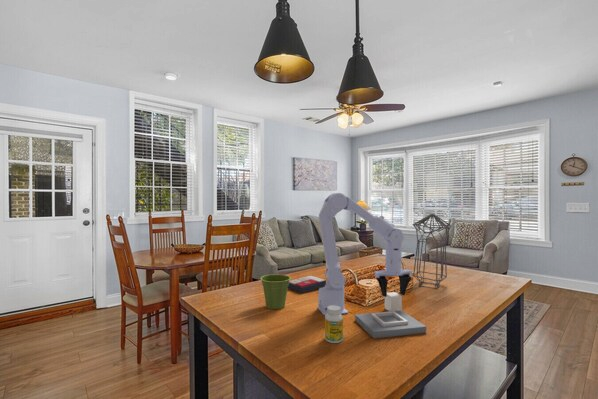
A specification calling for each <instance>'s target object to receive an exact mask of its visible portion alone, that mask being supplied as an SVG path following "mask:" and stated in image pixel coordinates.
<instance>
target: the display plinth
mask: <svg viewBox="0 0 598 399" xmlns="http://www.w3.org/2000/svg"><path fill="white" fill-rule="evenodd" d="M354 321H355V322H356V323H357V324H358V325H360V327H361V328H362V329H364V331H366V332H367V333H368V334H369V335H370V336H371V337H372V338H373V339H380V338H381V339H383V338H390V337H391V338H392V337H400V336H409V335H420V334H427V325H425V324H423V323H422V322H421V321H418V320H417V319H415V318H414V317H413V316H411V315H409V314H408V313H407V312H405V311H403V309H402V310H401V311H382V312H367V313H358V314H354Z"/></svg>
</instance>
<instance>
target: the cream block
mask: <svg viewBox="0 0 598 399" xmlns="http://www.w3.org/2000/svg"><path fill="white" fill-rule="evenodd" d="M402 298H403V295H402V294H400V293H397V292H396V291H393V292H387V296H386V297H384V309H385V310H386V311H387V312H389V311H401V310H402V311H403V304H402V302H403V299H402Z"/></svg>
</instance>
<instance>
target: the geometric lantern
mask: <svg viewBox="0 0 598 399" xmlns="http://www.w3.org/2000/svg"><path fill="white" fill-rule="evenodd" d="M429 220H430V222H429ZM434 221H435V222H436V223H437V224H435V222H434ZM428 222H429V223H428ZM412 226H413V227H414V228H415V231H416V242H417V243H416V247H415V248H416V249H415V257H414V266H413V271H412V276H413V278H414V279H416V280H417V281H418V287H422V288H427V289H428V288H429V289H435V290H436V289H438V288H439V286H440V283H442V282H443V281H444V280H446V278H447V277H448V276H447V274H448V272H447V244H446V243H447V242H446V241H447V238H448V235H449V232H450V230H451V228H452V224H450V223H449V222H447V221H445V220H444V219H442V218H441V217H440V216H438V215H436V214H435V213H430V214H428V215H426V216H425V217H423V218H422V219H419V220H418V221H416V222H414V223H413V224H412ZM422 228H423V229H422ZM425 228H427V229H429V231H425ZM443 230H445V232H444V234H443V236H442V235H441V231H443ZM421 231H422V232H423V234H422V232H421ZM418 232H419V233H420V236H421V237H420V238H419V236H418V235H419V234H418ZM435 232H437V233H438V234H439V236H440V237H441V240H440V239H436V238H435V236H434V234H433V233H435ZM425 234H428V235H427V236H426V238H424V237H423V236H424V235H425ZM430 235H431V236H432V238H433V239H430V238H429V237H430ZM444 237H445V238H444ZM431 241H432V242H431ZM433 241H435V242H433ZM420 243H421V248H420ZM424 243H425V245H424ZM427 244H435V245H436V248H435V249H436V250H435V251H436V255H435V256H436V258H435V259H436V260H435V262H436V264H435V265H436V266H435V267H436V269H435V271H436V272H429V271H425V270H426V269H425V267H426V256H427ZM423 245H424V246H423ZM439 245H440V273H438V267H439V266H438V263H439V262H438V261H439V258H438V257H439V256H438V255H439V250H438V249H439ZM423 247H424V257H423V256H422V254H423ZM419 254H420V255H419ZM422 257H423V258H424V259H423V267H422V268H423V270H422V271H421V263H422ZM444 263H445V264H444ZM444 266H445V267H444ZM444 268H445V269H444ZM444 270H445V275H444ZM415 272H416V273H415ZM421 273H422V275H423V276H422V275H421ZM418 274H419V276H418ZM425 274H429V275H435V279H433V278H429V277H425ZM438 276H440V277H439V278H438ZM425 280H429V281H434V282H427V281H425ZM422 283H423V284H430V285H434V287H432V286H425V285H422Z"/></svg>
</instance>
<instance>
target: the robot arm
mask: <svg viewBox="0 0 598 399" xmlns="http://www.w3.org/2000/svg"><path fill="white" fill-rule="evenodd" d="M342 210H346V211H351V212H352V213H354V214H355V215H357V216H358V217H359V218H362V219H363V220H365V221H366V222H367V223H368V227H369V228H370V229H371V230H372V231H374V232H375V233H376V234H378V235H379V236H381V237H382V238H383V239H384V240H385V269H382V270H376V271H374V277H375V279H376V280H377V282H378V283H377V284H378V285H379V288H380V291H381V296H382V297H384V298H385V297H386V296H387V293H388V290H387V289H388V288H387V287H388V282H389V280H388V279H387V277H389V278H390V277H398V281H399V294H400V295H401V296H405V295H406V291H407V288H408V286H409V283H410V281H412V277H411V276H413V271H412V270H411V269H410V268H409V269H404V268H402V243H403V242H404V240H405V235H404V233H403V231H402V229H400V228H397V227H395V224H394V223H390V222H388V220H386V219H385V216H383V215H378V214H376V215H373V214H372V213H370V212H369V211H368V210H367V209H366V208H364V207H363V206H361V204H359V203H358V202H357V201H355V200H353V199H352V198H351V197H349V196H346V195H345V194H344V193H341V192H335V193H334V192H333V193H331V194H330V195H328V196H327V198H326V199H324V201H323V204H322V207H321V210H320V212H319V213H318V222H319V227H320V233H321V239H322V245H323V252H324V258H325V272H324V277H325V279H326V284H325V287H323V288H319V289H318V293H317V294H318V295H317V297H318V298H317V299H318V301H317V305H318V306H317V309H318V310H319V311H320V312H321V313H322V315H323V316H325V315H326V314H327V313H328V312H327V307H328V306H332V305H334V306H339V307H340V308H341V312H340V314H341V315H343V314H349V311H348V310H347V309H346V308H345V284H346V276H345V275H344V274H343V273H342V268H341V265H340V262H339V255H338V248H337V245H336V244H337V242H336V238H335V237H336V236H335V231H334V225H333V219H335V217H336V216H337V214H338V213H340V212H341V211H342Z"/></svg>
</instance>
